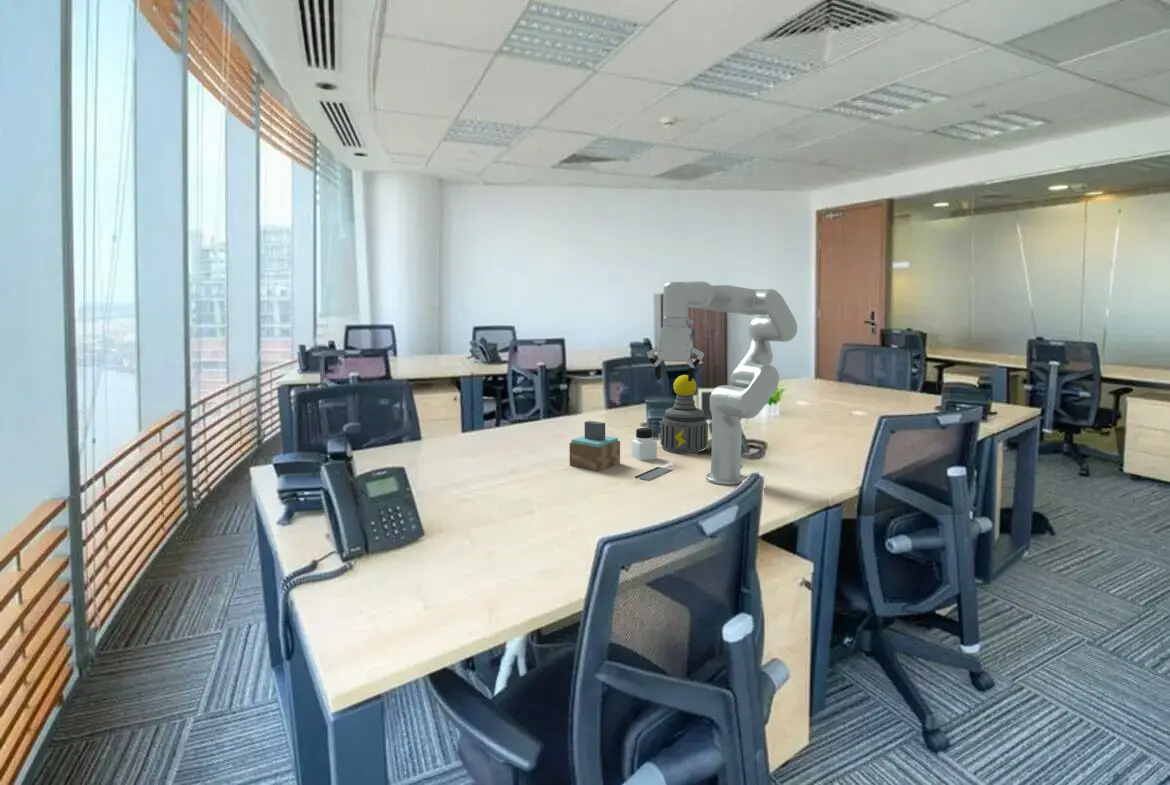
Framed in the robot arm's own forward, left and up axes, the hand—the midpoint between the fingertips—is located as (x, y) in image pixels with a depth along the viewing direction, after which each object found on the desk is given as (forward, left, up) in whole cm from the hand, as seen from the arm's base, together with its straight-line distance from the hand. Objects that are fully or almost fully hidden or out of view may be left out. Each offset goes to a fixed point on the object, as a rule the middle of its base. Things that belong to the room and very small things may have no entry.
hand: (674, 380), depth 189 cm
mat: (-14, -20, -35) cm, 43 cm away
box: (-10, -37, -35) cm, 52 cm away
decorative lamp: (-53, -24, -36) cm, 68 cm away
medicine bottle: (-29, -28, -36) cm, 54 cm away
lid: (-10, -37, -26) cm, 47 cm away
